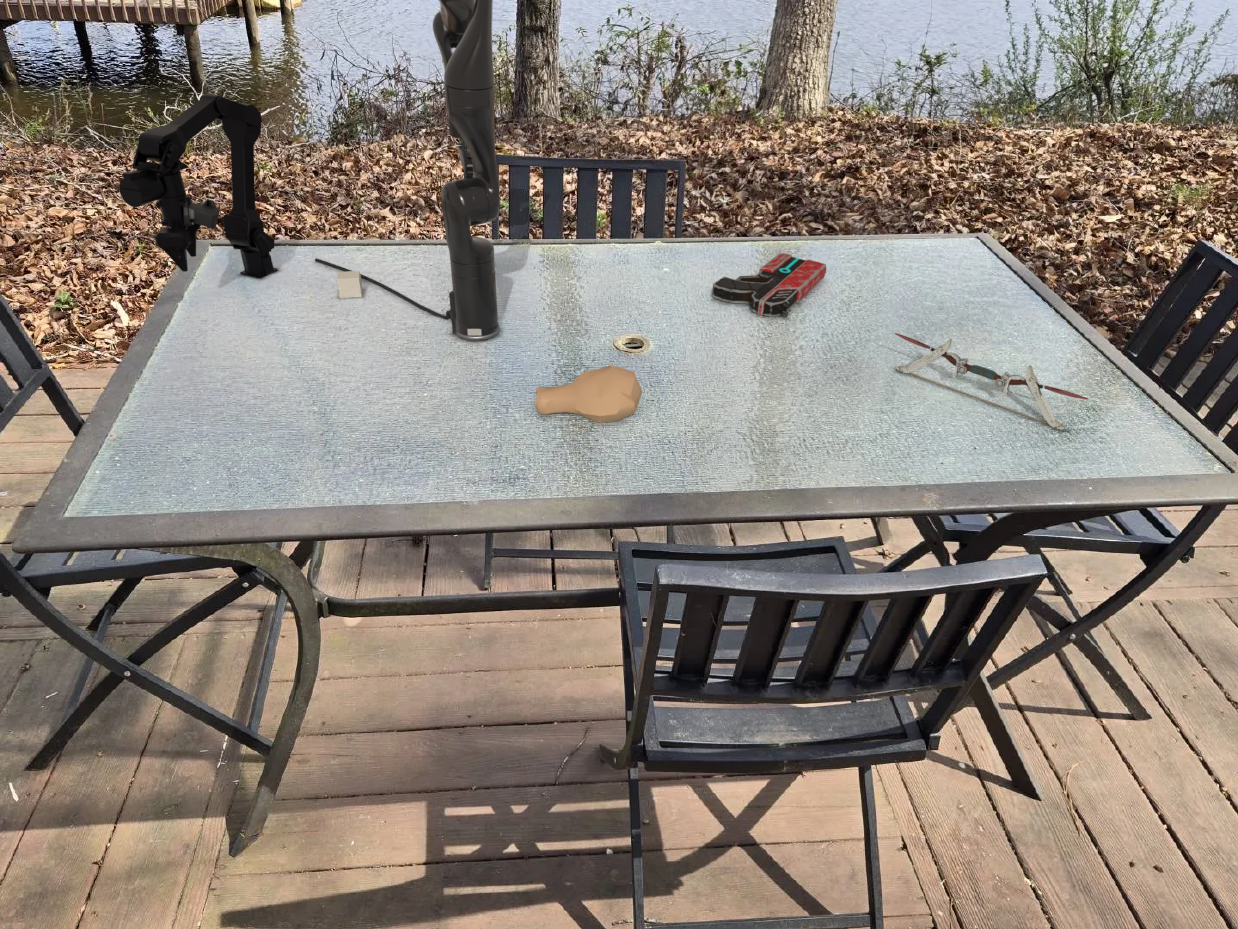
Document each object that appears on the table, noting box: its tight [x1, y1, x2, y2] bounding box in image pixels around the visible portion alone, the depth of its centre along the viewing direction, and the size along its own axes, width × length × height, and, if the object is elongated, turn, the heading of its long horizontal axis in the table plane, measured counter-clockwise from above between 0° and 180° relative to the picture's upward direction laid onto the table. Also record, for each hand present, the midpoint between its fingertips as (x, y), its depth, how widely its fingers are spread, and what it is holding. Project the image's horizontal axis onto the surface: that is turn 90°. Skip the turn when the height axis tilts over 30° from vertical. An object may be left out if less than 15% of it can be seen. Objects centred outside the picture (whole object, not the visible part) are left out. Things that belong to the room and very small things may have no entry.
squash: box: [534, 364, 643, 424], centre depth 162 cm, size 11×20×9 cm, turn 90°
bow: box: [894, 332, 1090, 431], centre depth 170 cm, size 39×2×10 cm, turn 47°
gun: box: [711, 252, 827, 318], centre depth 215 cm, size 4×31×19 cm
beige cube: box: [336, 270, 364, 299], centre depth 207 cm, size 5×5×5 cm
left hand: (189, 263), depth 197 cm, fingers open, 9 cm apart
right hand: (470, 187), depth 201 cm, fingers open, 8 cm apart
